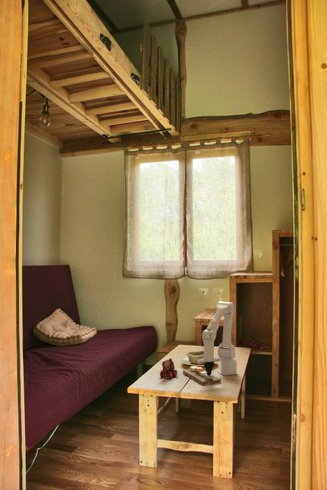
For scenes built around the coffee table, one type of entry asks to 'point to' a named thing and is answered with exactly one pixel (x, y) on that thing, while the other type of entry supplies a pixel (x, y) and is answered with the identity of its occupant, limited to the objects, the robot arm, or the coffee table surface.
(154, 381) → the coffee table surface
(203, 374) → the pale green cube
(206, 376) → the pale grey cube
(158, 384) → the coffee table surface
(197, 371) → the terracotta key
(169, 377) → the dark red teddy bear
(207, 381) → the brown wooden board
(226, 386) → the coffee table surface
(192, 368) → the cream key
